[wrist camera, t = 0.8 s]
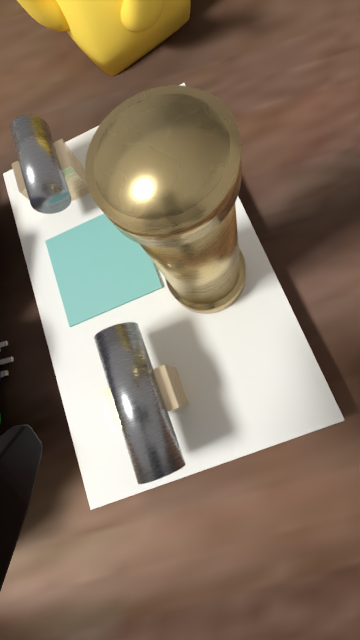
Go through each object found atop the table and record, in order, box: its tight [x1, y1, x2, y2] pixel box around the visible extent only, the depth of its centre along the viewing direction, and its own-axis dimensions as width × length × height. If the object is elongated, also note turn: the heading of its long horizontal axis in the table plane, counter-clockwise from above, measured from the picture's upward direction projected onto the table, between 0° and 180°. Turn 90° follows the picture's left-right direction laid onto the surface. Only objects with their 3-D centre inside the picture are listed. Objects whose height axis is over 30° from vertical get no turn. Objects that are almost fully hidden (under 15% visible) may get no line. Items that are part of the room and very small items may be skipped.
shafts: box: [10, 115, 189, 484], centre depth 21 cm, size 24×6×4 cm, turn 21°
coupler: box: [85, 85, 246, 314], centre depth 16 cm, size 5×5×12 cm
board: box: [3, 83, 344, 510], centre depth 23 cm, size 26×16×1 cm, turn 21°
